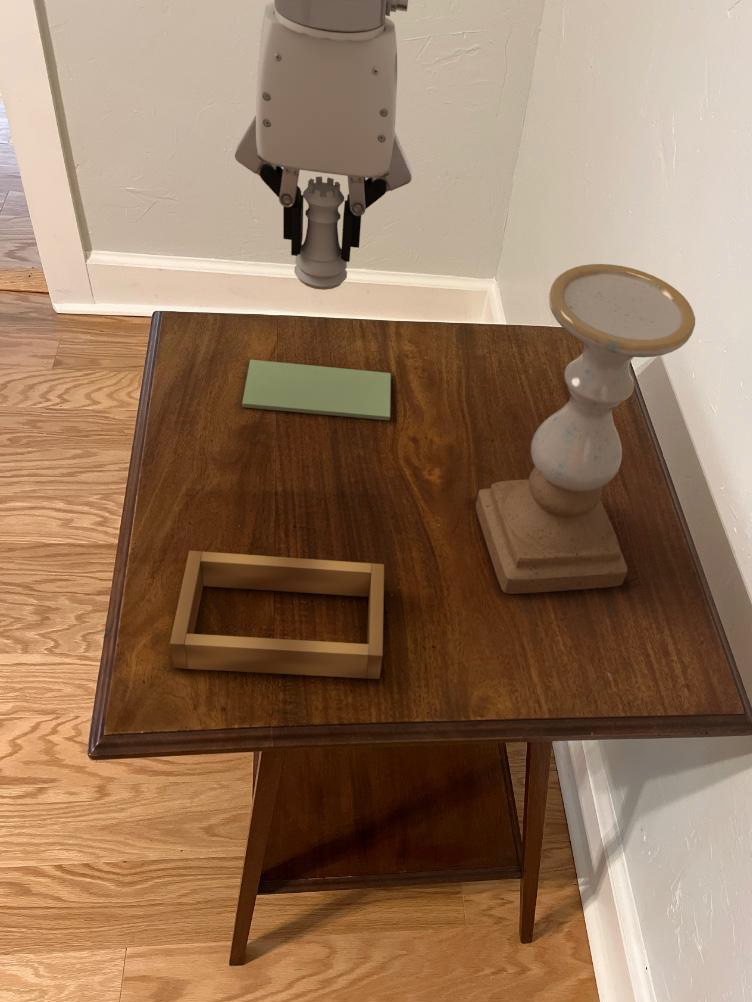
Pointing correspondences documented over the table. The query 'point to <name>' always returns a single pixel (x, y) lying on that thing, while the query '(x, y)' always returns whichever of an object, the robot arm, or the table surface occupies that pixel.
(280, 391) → the mat
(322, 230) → the rook chess piece
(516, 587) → the candle holder
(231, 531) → the table surface
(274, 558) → the rectangular wooden frame
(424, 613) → the table surface
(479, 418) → the table surface
